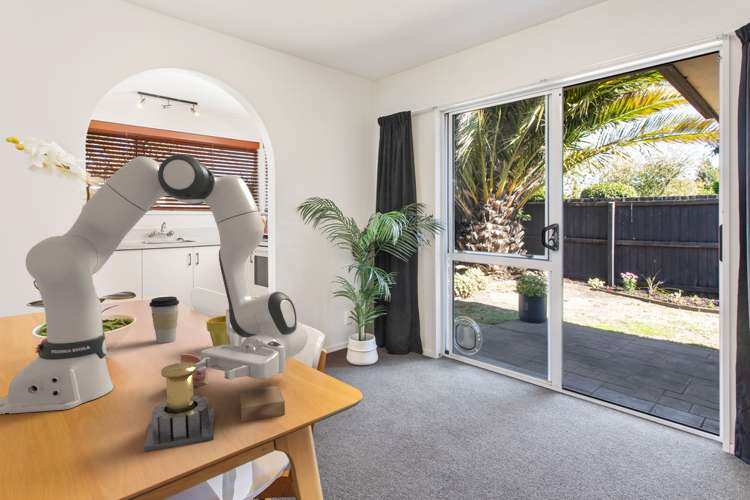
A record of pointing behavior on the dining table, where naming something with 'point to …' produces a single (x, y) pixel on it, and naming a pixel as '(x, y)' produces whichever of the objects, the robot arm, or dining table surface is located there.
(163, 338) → the coffee cup
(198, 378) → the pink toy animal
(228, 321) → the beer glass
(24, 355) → the dining table surface
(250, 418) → the stand
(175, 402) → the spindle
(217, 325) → the plant pot
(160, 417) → the hub
